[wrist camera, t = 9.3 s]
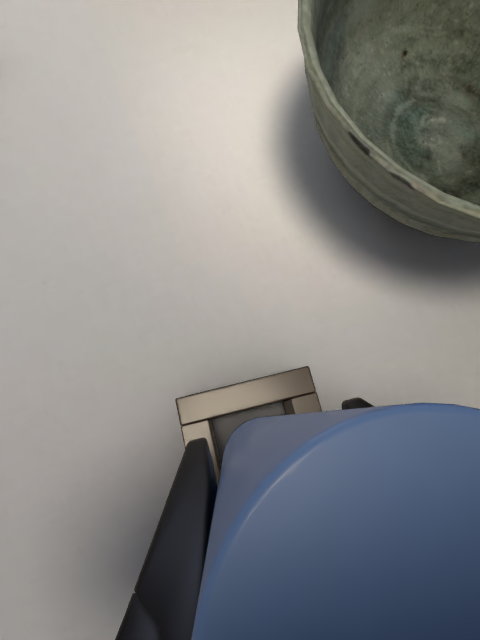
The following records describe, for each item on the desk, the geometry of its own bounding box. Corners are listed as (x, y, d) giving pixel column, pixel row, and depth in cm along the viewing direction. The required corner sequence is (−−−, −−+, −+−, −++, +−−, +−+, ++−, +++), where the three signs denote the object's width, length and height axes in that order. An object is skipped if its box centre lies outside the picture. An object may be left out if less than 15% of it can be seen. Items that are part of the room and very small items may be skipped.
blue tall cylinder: (298, 517, 15) (783, 1200, 2) (213, 494, 15) (105, 988, 2) (315, 428, 16) (733, 469, 3) (234, 407, 16) (259, 351, 3)
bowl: (551, 50, 30) (707, -128, 20) (592, 311, 25) (829, 241, 15) (282, 27, 30) (307, -163, 20) (266, 285, 24) (290, 198, 15)
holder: (334, 497, 21) (350, 509, 19) (208, 531, 21) (205, 550, 18) (298, 372, 23) (308, 365, 20) (182, 401, 23) (175, 398, 20)
